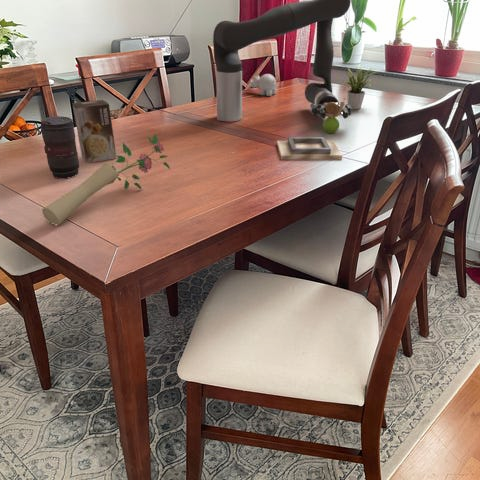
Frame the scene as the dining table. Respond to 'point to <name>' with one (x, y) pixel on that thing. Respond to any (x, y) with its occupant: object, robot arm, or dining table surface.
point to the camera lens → (60, 146)
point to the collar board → (308, 148)
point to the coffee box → (94, 130)
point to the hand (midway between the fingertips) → (335, 115)
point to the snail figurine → (332, 116)
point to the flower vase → (98, 184)
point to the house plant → (356, 88)
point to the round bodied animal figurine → (265, 84)
